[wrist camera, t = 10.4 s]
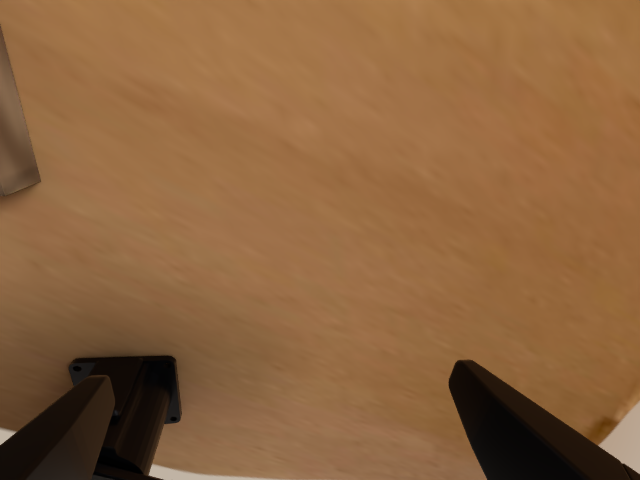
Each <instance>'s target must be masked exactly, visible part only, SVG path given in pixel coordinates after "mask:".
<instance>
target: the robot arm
mask: <svg viewBox="0 0 640 480" xmlns="http://www.w3.org/2000/svg"><path fill="white" fill-rule="evenodd" d="M167 363H169V364H167ZM69 372H70V375H71V378H72V382H73V385H74V387H73V388H72V389H71V390H69V391H68V392H67V393H66V394H64V395H63V396H62V397H61V398H59V399H58V400H57V401H56V402H54V403H53V404H52V405H51V406H49V407H48V408H47V409H45V410H44V411H43V412H42V413H40V414H39V415H38V416H37V417H35V418H34V419H33V420H32V421H30V422H29V423H28V424H27V425H25V426H24V427H23V428H22V429H20V430H19V431H18V432H16V433H15V434H14V435H13V436H11V437H10V438H9V439H8V440H6V441H5V442H4V443H3V444H1V445H0V480H163V479H159V478H156V477H152V476H148V475H149V472H150V468H151V465H152V462H153V459H154V455H155V452H156V449H157V446H158V442H159V439H160V436H161V432H162V429H163V426H164V424H170V423H177V422H179V421H180V419H181V415H182V412H181V402H180V393H179V383H178V374H177V364H176V359H175V358H174V357H172V356H147V357H113V358H80V359H75V360H73V362H72V363H71V365H70V366H69ZM449 389H450V392H451V395H452V397H453V400H454V403H455V405H456V408H457V411H458V413H459V416H460V419H461V421H462V424H463V427H464V429H465V432H466V434H467V437H468V439H469V442H470V444H471V447H472V449H473V451H474V453H475V455H476V457H477V459H478V462H479V464H480V466H481V468H482V470H483V472H484V474H485V476H486V478H487V480H640V474H638V473H637V472H636V471H634V470H633V469H631V468H630V467H628V466H627V465H625V464H622V463H621V462H620V461H619V460H618V459H617V458H615V457H614V456H612V455H610V454H609V453H608V452H606V451H605V450H603V449H602V448H600V447H599V446H597V445H596V444H595V443H593V442H592V441H590V440H589V439H587V438H586V437H584V436H583V435H581V434H580V433H578V432H577V431H575V430H574V429H573V428H571V427H570V426H568V425H567V424H565V423H564V422H562V421H561V420H559V419H558V418H556V417H555V416H553V415H552V414H551V413H549V412H548V411H546V410H545V409H543V408H542V407H540V406H539V405H537V404H536V403H534V402H533V401H532V400H530V399H529V398H527V397H526V396H524V395H523V394H521V393H520V392H518V391H517V390H515V389H514V388H512V387H511V386H510V385H508V384H507V383H505V382H504V381H502V380H501V379H499V378H498V377H496V376H495V375H493V374H492V373H490V372H489V371H488V370H486V369H485V368H483V367H482V366H480V365H479V364H477V363H476V362H474V361H472V360H458V361H457V362H456V363H455V365H454V368H453V370H452V373H451V375H450V378H449Z"/></svg>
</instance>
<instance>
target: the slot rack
mask: <svg viewBox="0 0 640 480" xmlns="http://www.w3.org/2000/svg"><path fill="white" fill-rule="evenodd" d="M40 181H41V180H40V176H39V172H38V168H37V164H36V161H35V157H34V153H33V149H32V145H31V141H30V138H29V134H28V130H27V126H26V122H25V118H24V115H23V111H22V107H21V103H20V99H19V95H18V92H17V88H16V84H15V80H14V76H13V72H12V69H11V65H10V61H9V57H8V53H7V49H6V46H5V42H4V38H3V34H2V30H1V26H0V196H7V195H9V194H11V193H14V192H16V191H19V190H21V189H23V188H26V187H28V186H31V185H33V184H36V183H38V182H40Z"/></svg>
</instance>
